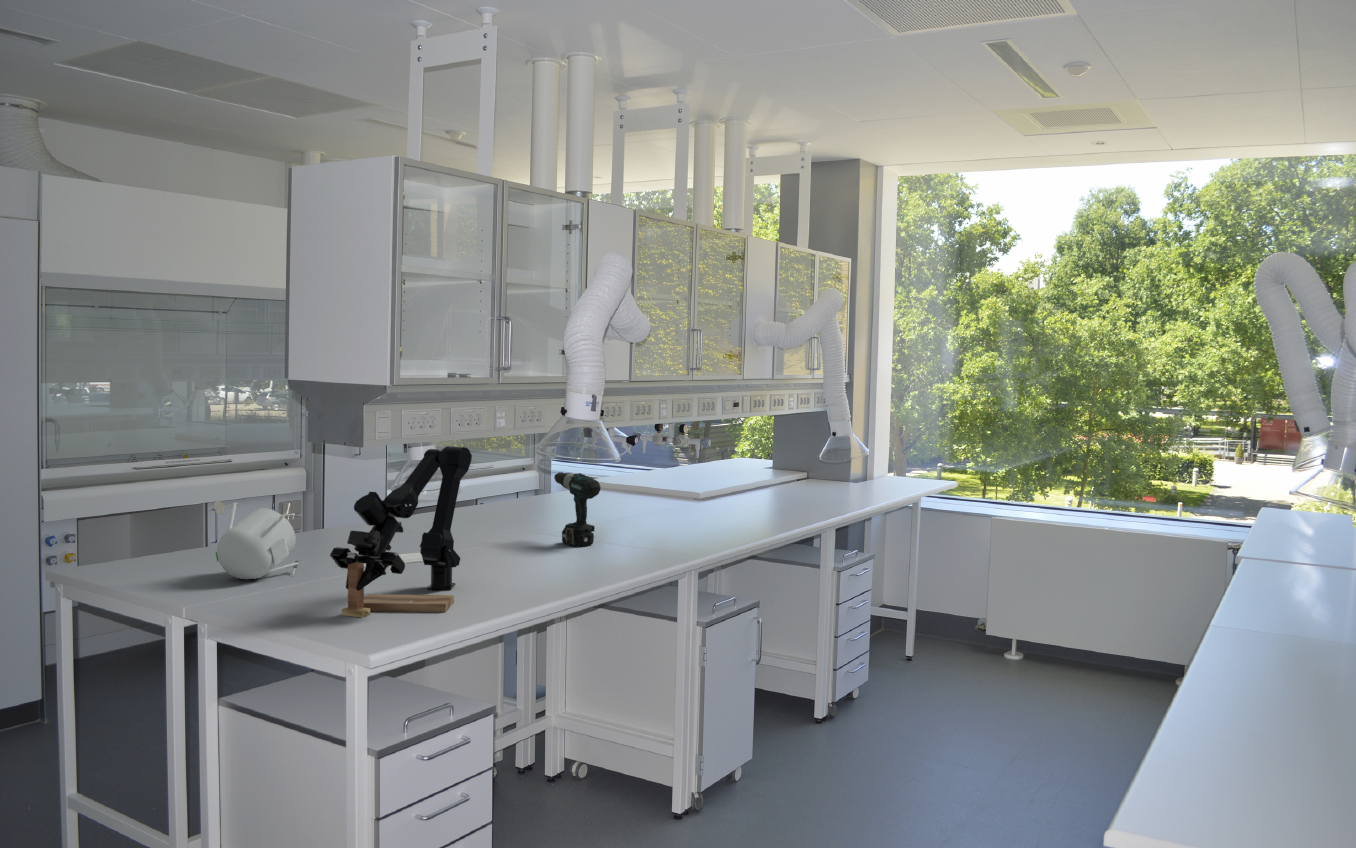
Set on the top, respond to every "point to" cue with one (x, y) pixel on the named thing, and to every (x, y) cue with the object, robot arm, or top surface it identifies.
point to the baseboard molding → (410, 558)
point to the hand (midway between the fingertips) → (352, 589)
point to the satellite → (255, 543)
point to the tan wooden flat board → (408, 602)
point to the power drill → (579, 507)
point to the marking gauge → (355, 592)
